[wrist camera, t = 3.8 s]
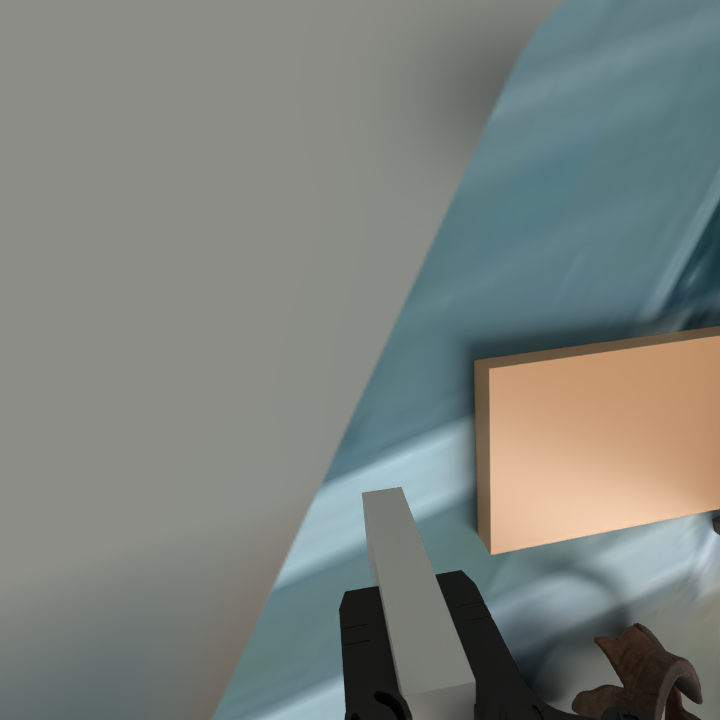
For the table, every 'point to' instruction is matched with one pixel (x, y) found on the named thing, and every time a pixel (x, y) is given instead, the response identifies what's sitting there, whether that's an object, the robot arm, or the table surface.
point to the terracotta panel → (596, 437)
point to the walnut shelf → (717, 525)
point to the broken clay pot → (642, 678)
